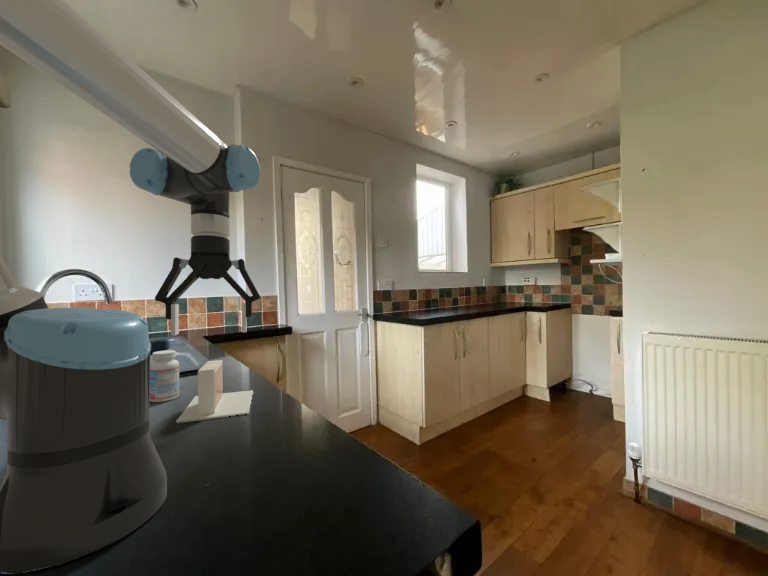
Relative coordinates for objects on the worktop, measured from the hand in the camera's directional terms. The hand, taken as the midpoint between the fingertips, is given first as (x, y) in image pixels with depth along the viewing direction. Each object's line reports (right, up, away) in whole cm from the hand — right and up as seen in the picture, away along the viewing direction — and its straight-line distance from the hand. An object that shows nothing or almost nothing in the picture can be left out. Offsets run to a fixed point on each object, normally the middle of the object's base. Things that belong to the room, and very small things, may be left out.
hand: (210, 333), depth 71 cm
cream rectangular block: (0, -16, 0) cm, 16 cm away
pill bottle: (-15, -17, +7) cm, 23 cm away
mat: (+1, -16, +1) cm, 16 cm away
